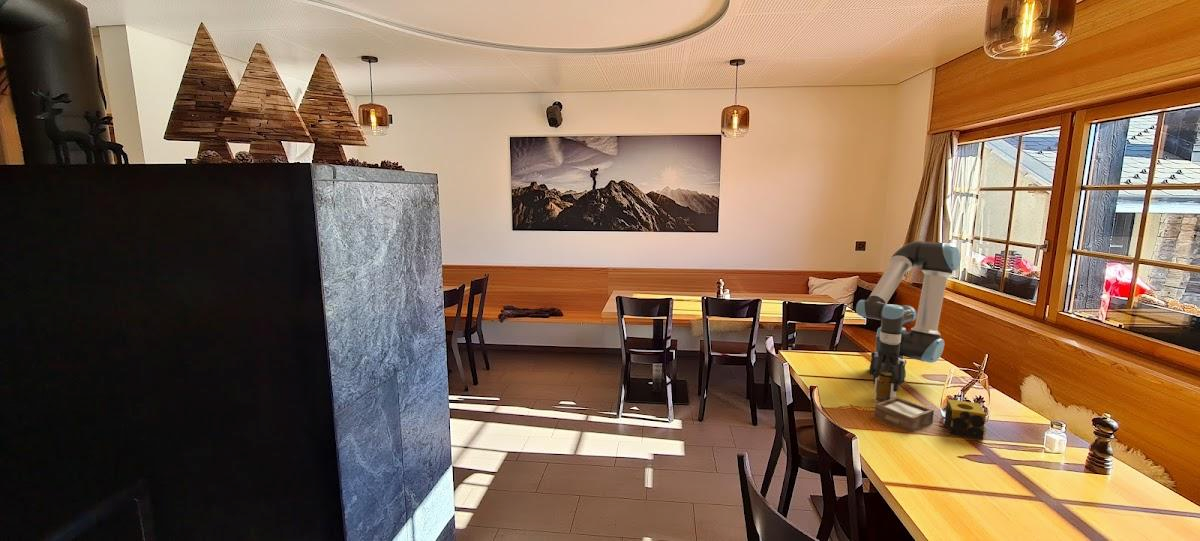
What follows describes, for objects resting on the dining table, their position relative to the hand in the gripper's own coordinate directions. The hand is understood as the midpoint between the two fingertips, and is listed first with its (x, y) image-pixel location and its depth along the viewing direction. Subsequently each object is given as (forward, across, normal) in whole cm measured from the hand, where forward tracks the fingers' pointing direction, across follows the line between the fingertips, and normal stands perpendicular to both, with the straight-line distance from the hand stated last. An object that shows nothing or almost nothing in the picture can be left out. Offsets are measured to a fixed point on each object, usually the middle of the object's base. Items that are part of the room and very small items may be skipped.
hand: (884, 394), depth 206 cm
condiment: (+3, +1, 0) cm, 3 cm away
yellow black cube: (+3, +30, -1) cm, 30 cm away
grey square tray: (+2, +14, -11) cm, 18 cm away
